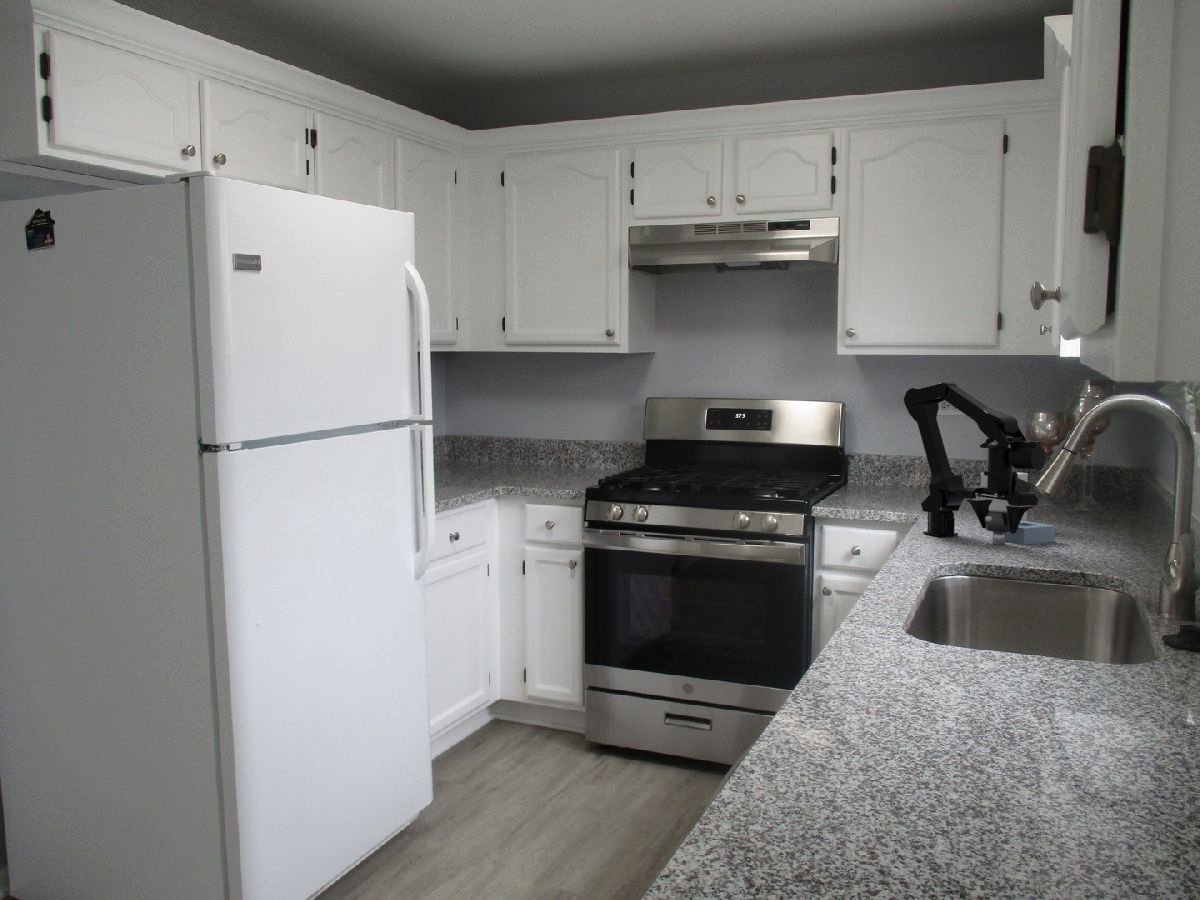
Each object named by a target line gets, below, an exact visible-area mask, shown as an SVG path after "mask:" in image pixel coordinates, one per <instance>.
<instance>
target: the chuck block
mask: <svg viewBox="0 0 1200 900" xmlns="http://www.w3.org/2000/svg"><path fill="white" fill-rule="evenodd" d="M1005 542H1009V543H1012V544H1013V543H1014V544H1018V545H1025V546H1026V545H1034V544H1035V545H1037V544H1047V543H1055V542H1056V525H1052V524H1046V523H1041V522H1040V523H1039V522H1035V521H1028V520H1026V521H1020V524H1019V526H1018V529H1017V531H1016V533H1015V534H1011V532H1005Z"/></svg>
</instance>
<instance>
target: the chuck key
mask: <svg viewBox="0 0 1200 900" xmlns="http://www.w3.org/2000/svg"><path fill="white" fill-rule="evenodd" d="M985 521H986V528H985V530H986V531H988V532H992V545H994V544H995V546H1006V541H1005V532H1011V531H1010V527H1009V521H1008V515H1007V511H1003V510H989V511H986V517H985Z"/></svg>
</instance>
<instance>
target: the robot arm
mask: <svg viewBox="0 0 1200 900" xmlns="http://www.w3.org/2000/svg"><path fill="white" fill-rule="evenodd" d="M942 402H947V403H949V404H950V405H951V406H952V407H954V408H955V409H957V410H958V411H960V412H961V413H962V414H964V415H965V416H967V417H968V418H969V419H971V420H973V421H974V422H975V424H976V425H977V427H978V429H979V431H980V432H981V433H983V435H984V436H985V437H986V439H985V441H983V443H981V444H980V445H979V447H980V449H981V448H982V449H987V470H984V471H983V473H984V475H986V476H987V487H984V486H981V485H976V486H973V485H971V486H966V487H965V485H964V480H963V477H962V475H961V474H957V475H956V474H955V473H954V472H953V471H952V469H951V465H950V462H949V459H948V455H947V452H946V448H945V447H946V446H945V445H944V441H943V437H942V434H941V430H940V426H939V423H938V419H937V417H938V413H939V409H940V406H939V403H942ZM903 404H904V406H905V408H906V410H907V413H908V414H909V416H910V417H911V418H912V420H914V421H915V422H916V424H917V428H918V431H919V433H920V437H921V443H922V445H923V448H924V449H923V450H924V453H925V456H926V460H927V463H928V464H927V465H928V467H929V469H930V475H931V476H930V480H929V484H928V489H929V494H928V495H927V497H926V498H925V499H924V500H923V501H922V502H921V505H920V506H921V510H922V512H925V513H927V530H925V531H924V530H923V531H922V534H924V535H928V534H929V536H930V535H931V536H933V535H934V537H938V536H943V537H952V536H953V535H955V536H959V532H955V523H956V522H955V520H956V519H955V512H958V511H960V508H961V506H962V503H963V502H964V499H967V500H966V501H967V503H969V504H970V506H971V508H972V509H973V511H974V513H975V515H976V517H977V518H978V521H979V524H980V523H981V526H980V527H982V529H986V521H985V517H986V511H989V506H990V504H991V503H992V501H993V500H992V499H999V500H1006V501H1007V502H1008V504H1009V505H1011V506H1006V509H1007V515H1008V521H1009V527H1010V531H1011V534H1015V533H1016V531H1017V529H1018V526H1019V524H1020V521H1021V519H1022V517H1023V515H1024V513H1025V512H1026V511H1028V510H1030V509H1033V508H1034V506H1038V505H1039V499H1038V498H1039V497H1038V495H1037V494H1036V493H1035V492H1031V491H1032V488H1033V483H1031V482H1029V481H1027V482H1026V481H1024V480H1021V479H1018V474H1017V471H1014V469H1017V470H1026V471H1027V470H1028V471H1030V470H1031V471H1040V470H1042V469H1043V468H1044V467H1045V465H1046V463H1047V455H1046V452H1045V450H1044V448H1043V447H1042V446H1041V445H1042V443H1041V441H1039V440H1038V441H1037V440H1036V441H1028V439H1026V436H1025V435H1024V433H1023V432H1022V430H1021V429H1020V427H1019V422H1018V420H1017V419H1016V418H1015V417H1014V416H1012V415H1010V414H1008V413H1005V412H1003V411H999V410H995V409H992V408H990V407H989V406H987V405H986V404H984V403H983V402H981V401H979V400H978V399H976V398H975V397H973V396H972V395H971V394H969V393H967V392H966V391H964V390H963V389H961V388H960V387H959V386H958V385H957V384H956V383H954V382H944V381H943V382H939V383H937V384H934V385H930V386H925V387H912V388H911V387H910V388H909V389H908V390H907V391H906V392H905V393H904V396H903ZM995 494H997V495H995ZM1002 496H1004V497H1002ZM987 498H992V499H987Z"/></svg>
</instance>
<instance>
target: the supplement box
mask: <svg viewBox="0 0 1200 900" xmlns="http://www.w3.org/2000/svg"><path fill="white" fill-rule="evenodd" d="M1016 472H1017V471H1016ZM1017 474H1018V479H1021V480H1024V481H1026V482H1029V481H1028V477H1029V475H1028V473H1026V472H1017ZM980 486H984V487H987V476H986V475H984V472H981V474H980ZM995 495H997V494H995ZM1002 497H1004V496H1002ZM987 499H992V498H987ZM992 500H993V501H992V503H991V504H990V506H989V510H1003V511H1007V509H1006V506H1011V505H1009V504H1008V502H1007V501H1006V500H999V499H992ZM1027 511H1028V510H1027ZM1027 511H1026V512H1025V513H1024V515H1023V517H1022V519H1021V521H1027V515H1028V514H1027ZM980 525H981V523H980V522H979V526H980Z"/></svg>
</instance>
